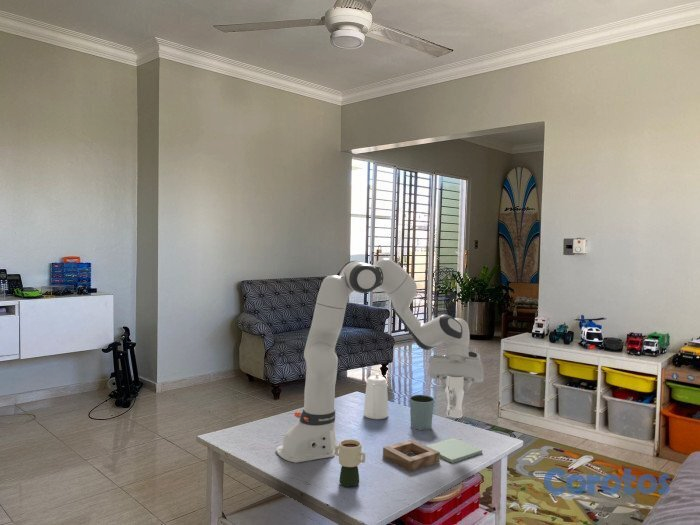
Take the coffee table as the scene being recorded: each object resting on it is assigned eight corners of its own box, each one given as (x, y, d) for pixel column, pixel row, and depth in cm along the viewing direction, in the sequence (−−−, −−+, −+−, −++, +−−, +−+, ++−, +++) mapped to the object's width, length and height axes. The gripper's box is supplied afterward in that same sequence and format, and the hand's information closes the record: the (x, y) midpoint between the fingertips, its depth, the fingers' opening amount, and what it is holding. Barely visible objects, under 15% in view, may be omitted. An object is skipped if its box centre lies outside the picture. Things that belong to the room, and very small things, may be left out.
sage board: (451, 463, 182) (451, 459, 182) (423, 449, 193) (423, 446, 193) (482, 453, 192) (482, 450, 192) (453, 440, 203) (453, 437, 203)
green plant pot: (432, 423, 222) (433, 395, 222) (434, 431, 212) (435, 402, 212) (408, 422, 223) (409, 394, 222) (409, 430, 213) (410, 401, 212)
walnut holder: (409, 471, 175) (410, 461, 174) (382, 457, 186) (383, 447, 186) (439, 462, 183) (439, 452, 183) (411, 448, 194) (412, 439, 194)
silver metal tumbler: (449, 410, 197) (451, 371, 196) (466, 415, 192) (468, 374, 192) (440, 415, 191) (442, 374, 191) (457, 420, 187) (459, 378, 186)
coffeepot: (358, 424, 218) (359, 380, 217) (368, 406, 242) (369, 366, 241) (384, 427, 215) (385, 382, 215) (391, 408, 240) (392, 367, 239)
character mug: (369, 484, 165) (371, 443, 165) (358, 493, 159) (359, 450, 158) (340, 475, 171) (341, 436, 170) (328, 483, 165) (329, 442, 164)
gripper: (429, 350, 200) (425, 382, 191) (484, 354, 195) (483, 387, 186) (429, 359, 205) (426, 391, 196) (483, 363, 200) (482, 396, 191)
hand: (454, 389), depth 191 cm, fingers closed on silver metal tumbler, 7 cm apart
